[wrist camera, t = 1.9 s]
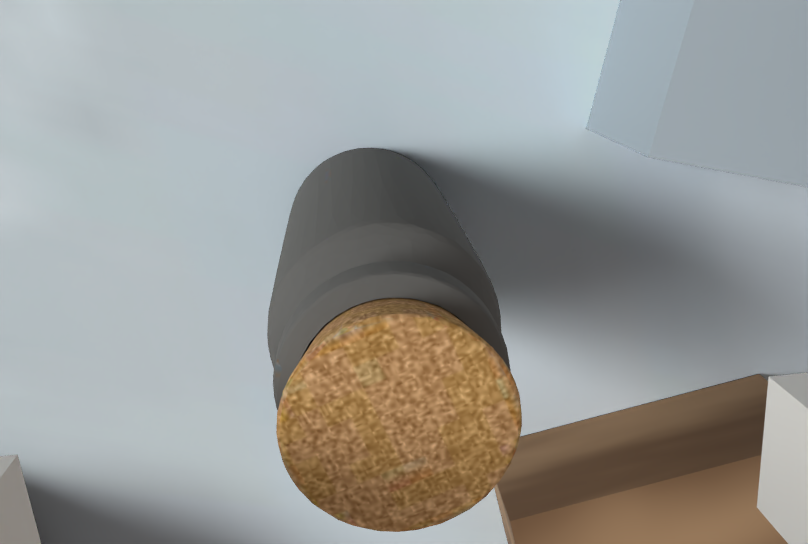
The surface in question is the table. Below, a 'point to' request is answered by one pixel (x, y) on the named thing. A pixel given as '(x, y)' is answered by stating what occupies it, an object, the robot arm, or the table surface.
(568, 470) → the walnut block
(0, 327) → the table surface
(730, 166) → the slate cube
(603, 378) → the table surface
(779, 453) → the robot arm
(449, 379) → the bottle
